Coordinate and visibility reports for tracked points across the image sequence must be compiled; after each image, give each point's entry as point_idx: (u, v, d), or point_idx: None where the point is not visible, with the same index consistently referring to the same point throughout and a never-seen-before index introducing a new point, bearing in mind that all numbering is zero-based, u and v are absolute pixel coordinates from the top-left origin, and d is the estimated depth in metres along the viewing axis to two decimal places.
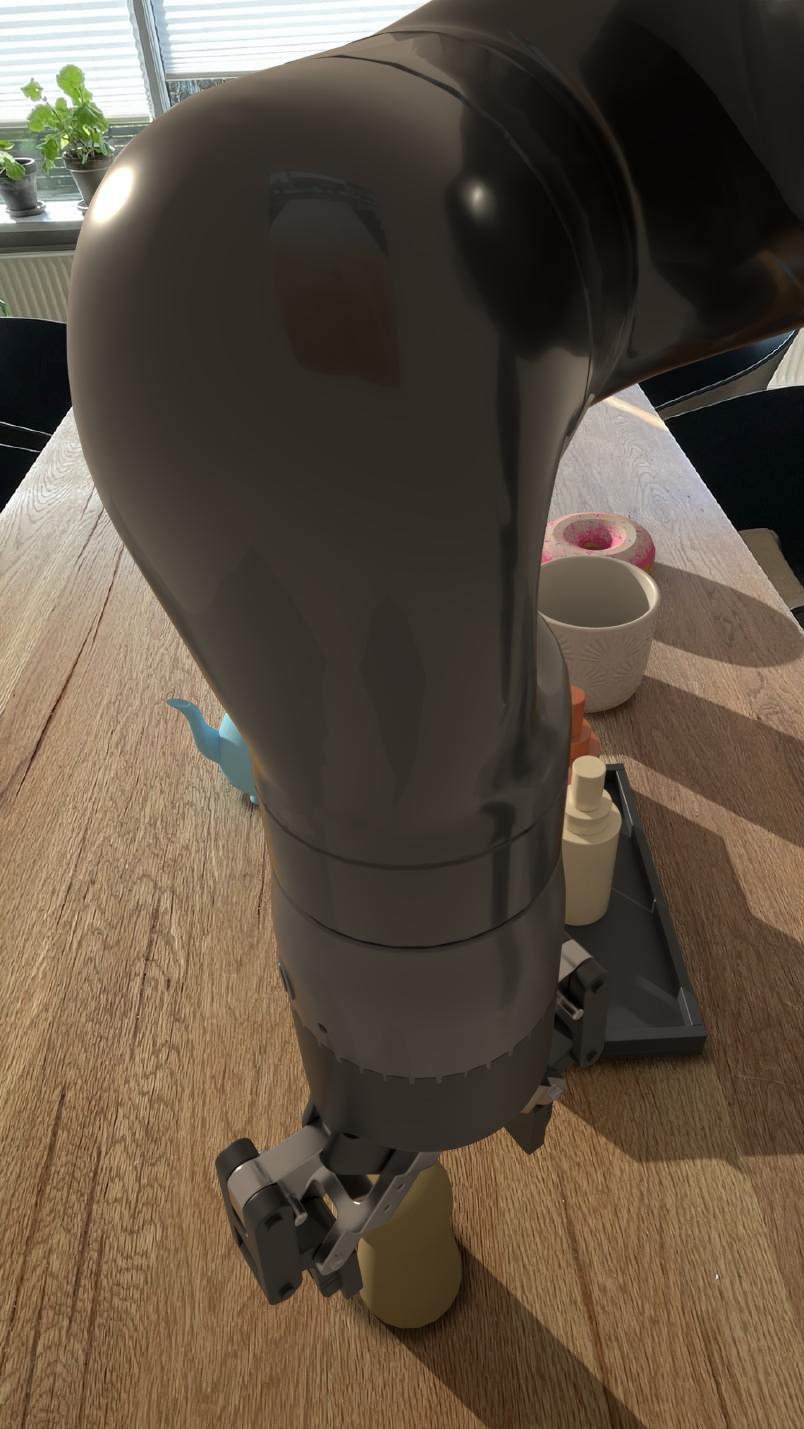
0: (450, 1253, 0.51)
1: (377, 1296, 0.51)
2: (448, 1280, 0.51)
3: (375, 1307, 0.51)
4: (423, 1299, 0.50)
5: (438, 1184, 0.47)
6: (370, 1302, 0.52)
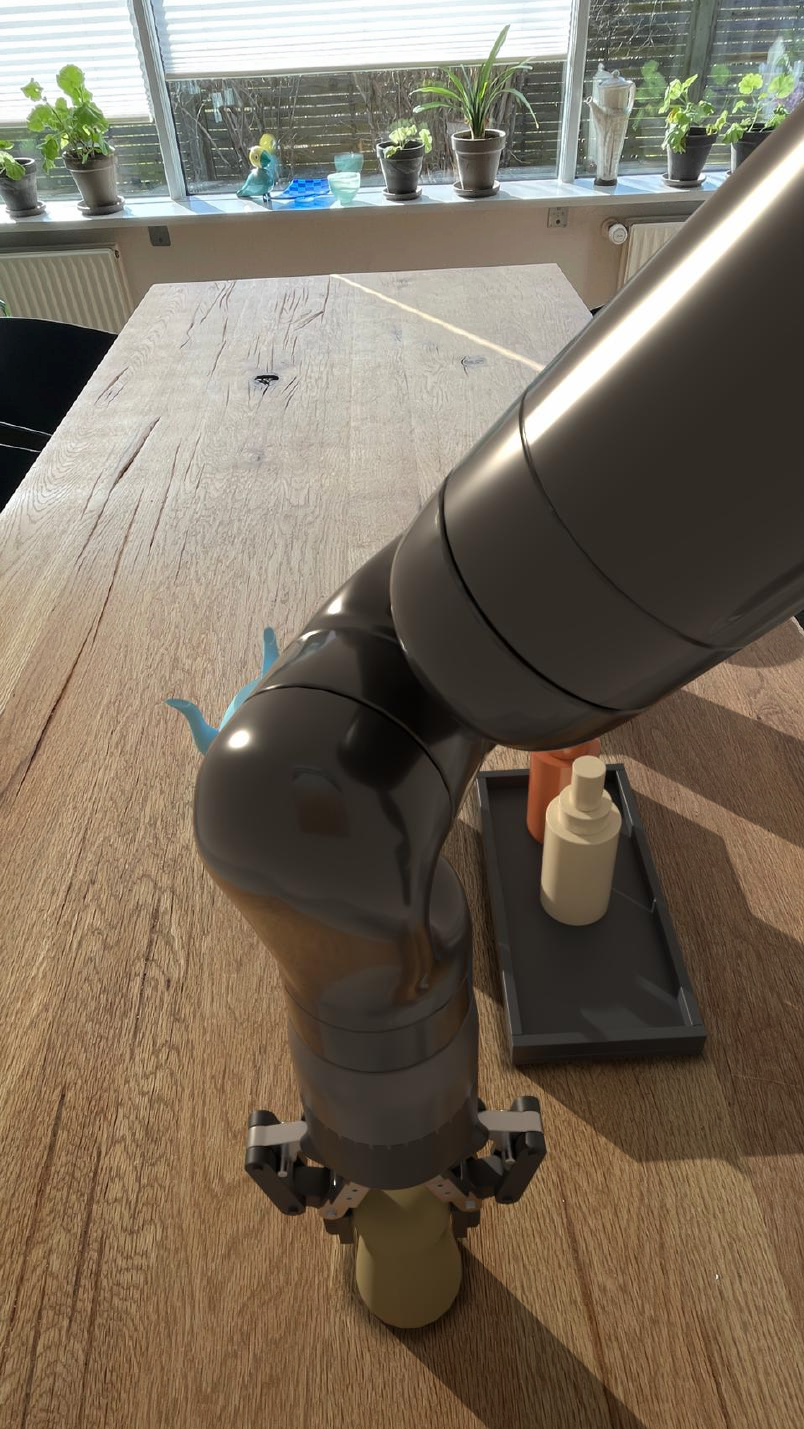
0: (450, 1253, 0.51)
1: (377, 1296, 0.51)
2: (448, 1280, 0.51)
3: (375, 1307, 0.51)
4: (423, 1299, 0.50)
5: None
6: (370, 1302, 0.52)
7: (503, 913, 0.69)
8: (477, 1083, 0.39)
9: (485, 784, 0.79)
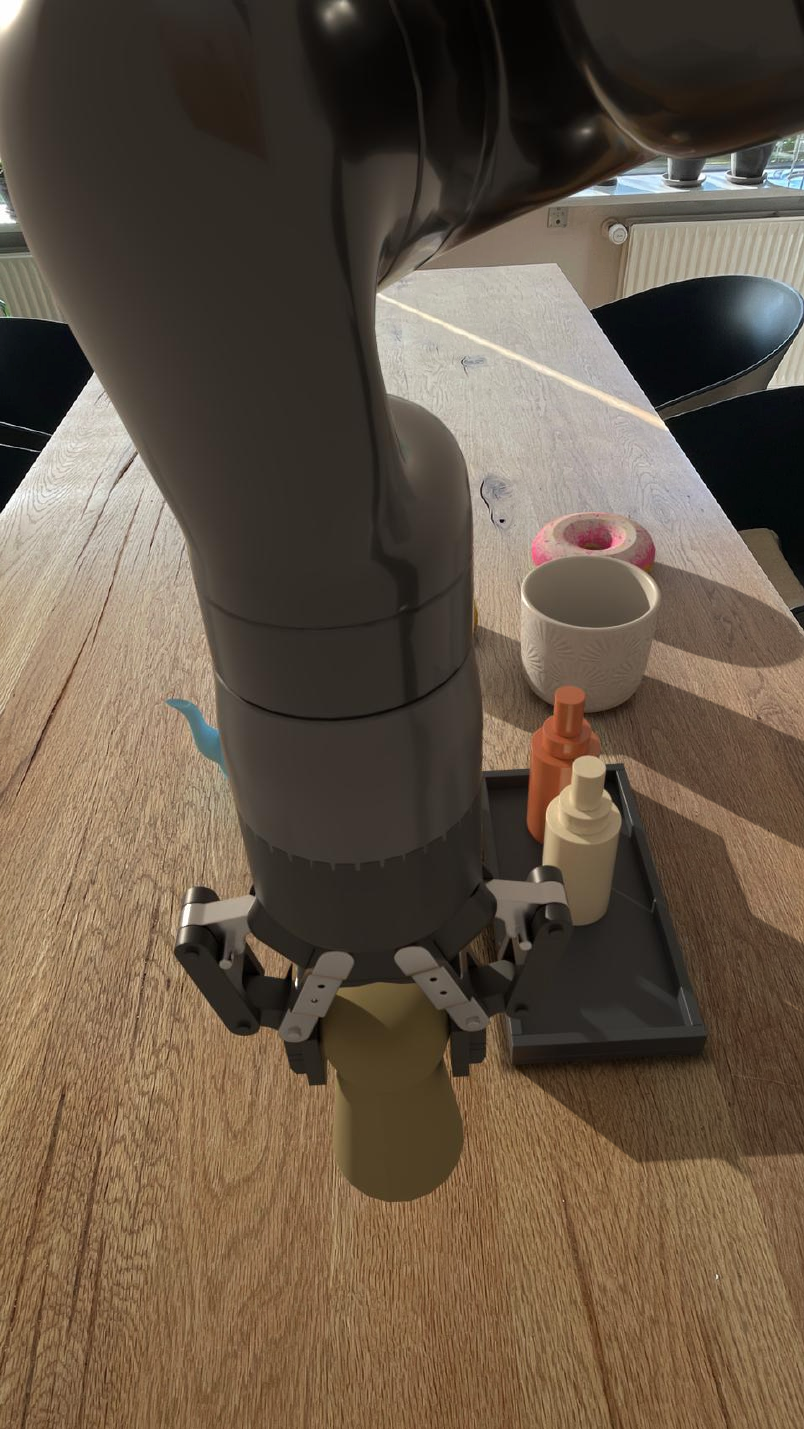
0: (448, 1104, 0.40)
1: (357, 1159, 0.40)
2: (446, 1139, 0.41)
3: (355, 1176, 0.41)
4: (415, 1161, 0.40)
5: None
6: (349, 1170, 0.41)
7: None
8: (481, 808, 0.29)
9: (485, 784, 0.79)
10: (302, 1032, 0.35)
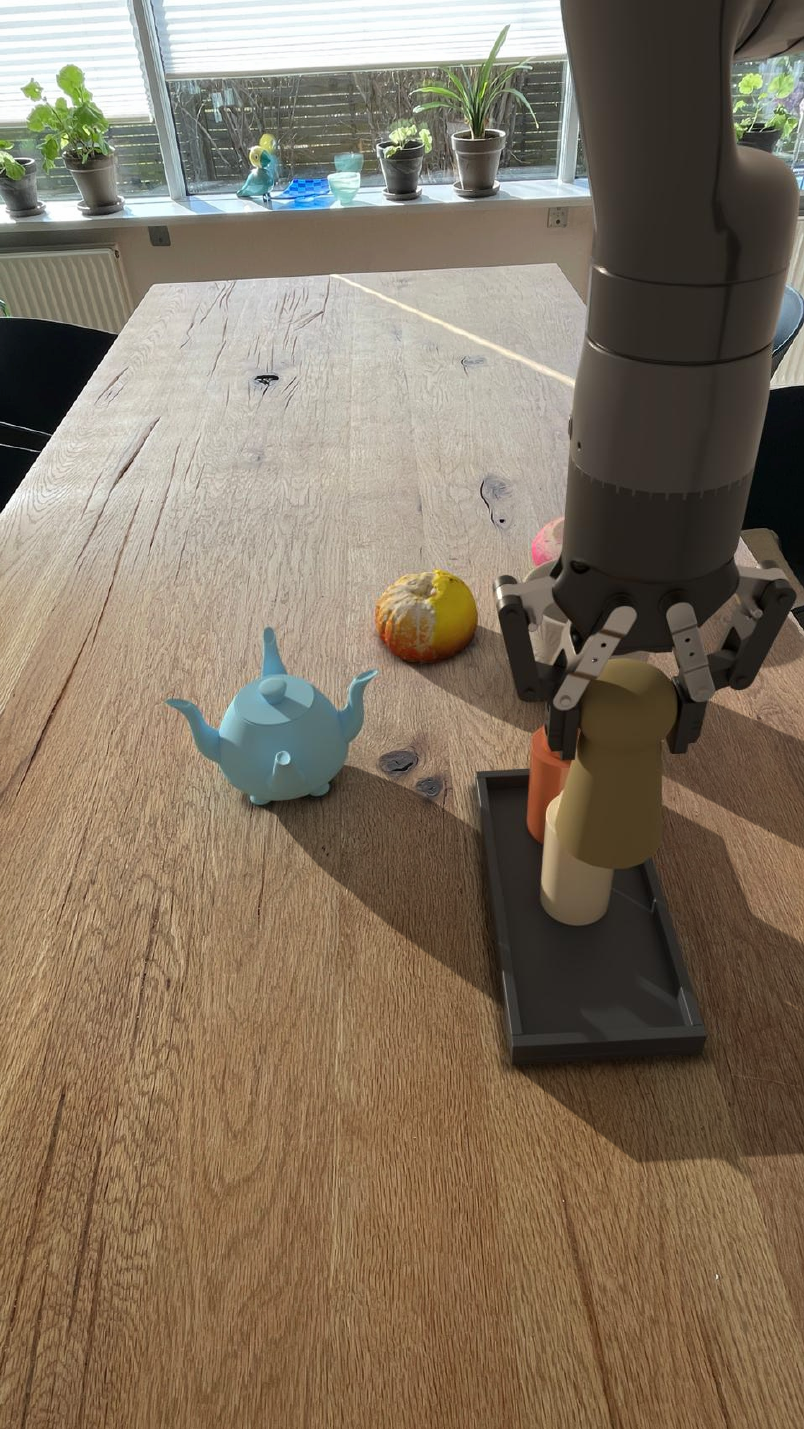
0: (661, 786, 0.51)
1: (588, 829, 0.51)
2: (657, 816, 0.51)
3: (583, 848, 0.52)
4: (637, 828, 0.51)
5: (666, 680, 0.47)
6: (578, 845, 0.52)
7: (503, 913, 0.69)
8: None
9: (485, 784, 0.79)
10: (572, 699, 0.46)
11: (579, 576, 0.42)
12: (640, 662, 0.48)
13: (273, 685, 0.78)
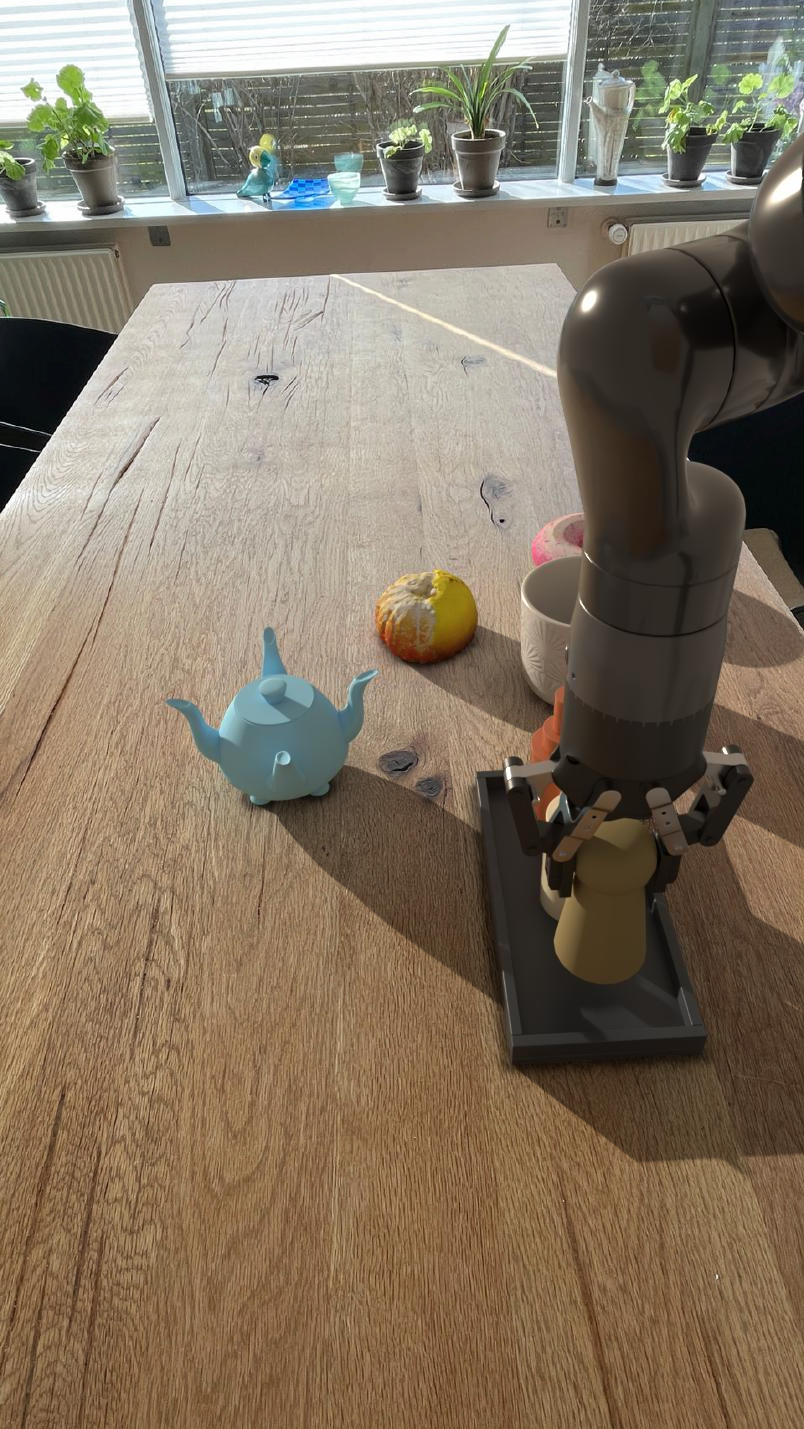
0: (644, 916, 0.60)
1: (582, 952, 0.60)
2: (641, 940, 0.60)
3: (578, 966, 0.61)
4: (623, 952, 0.60)
5: (647, 835, 0.56)
6: (573, 963, 0.61)
7: (503, 913, 0.69)
8: None
9: (485, 784, 0.79)
10: (568, 854, 0.55)
11: (574, 766, 0.51)
12: None
13: (273, 685, 0.78)
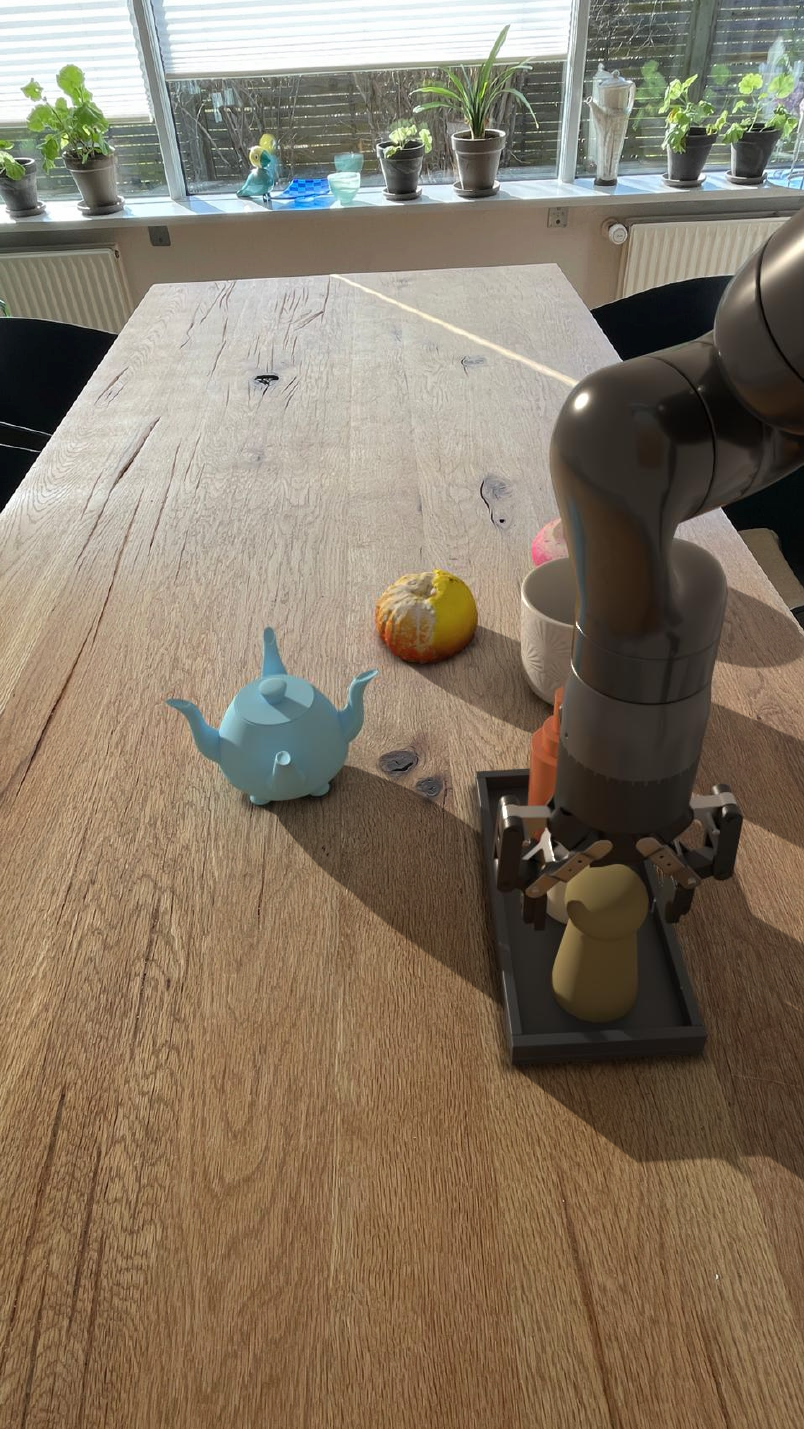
0: (636, 958, 0.63)
1: (577, 992, 0.63)
2: (633, 981, 0.63)
3: (573, 1005, 0.64)
4: (616, 992, 0.62)
5: (638, 884, 0.59)
6: (568, 1002, 0.64)
7: (503, 913, 0.69)
8: None
9: (485, 784, 0.79)
10: (541, 890, 0.57)
11: (567, 817, 0.53)
12: (619, 865, 0.60)
13: (273, 685, 0.78)
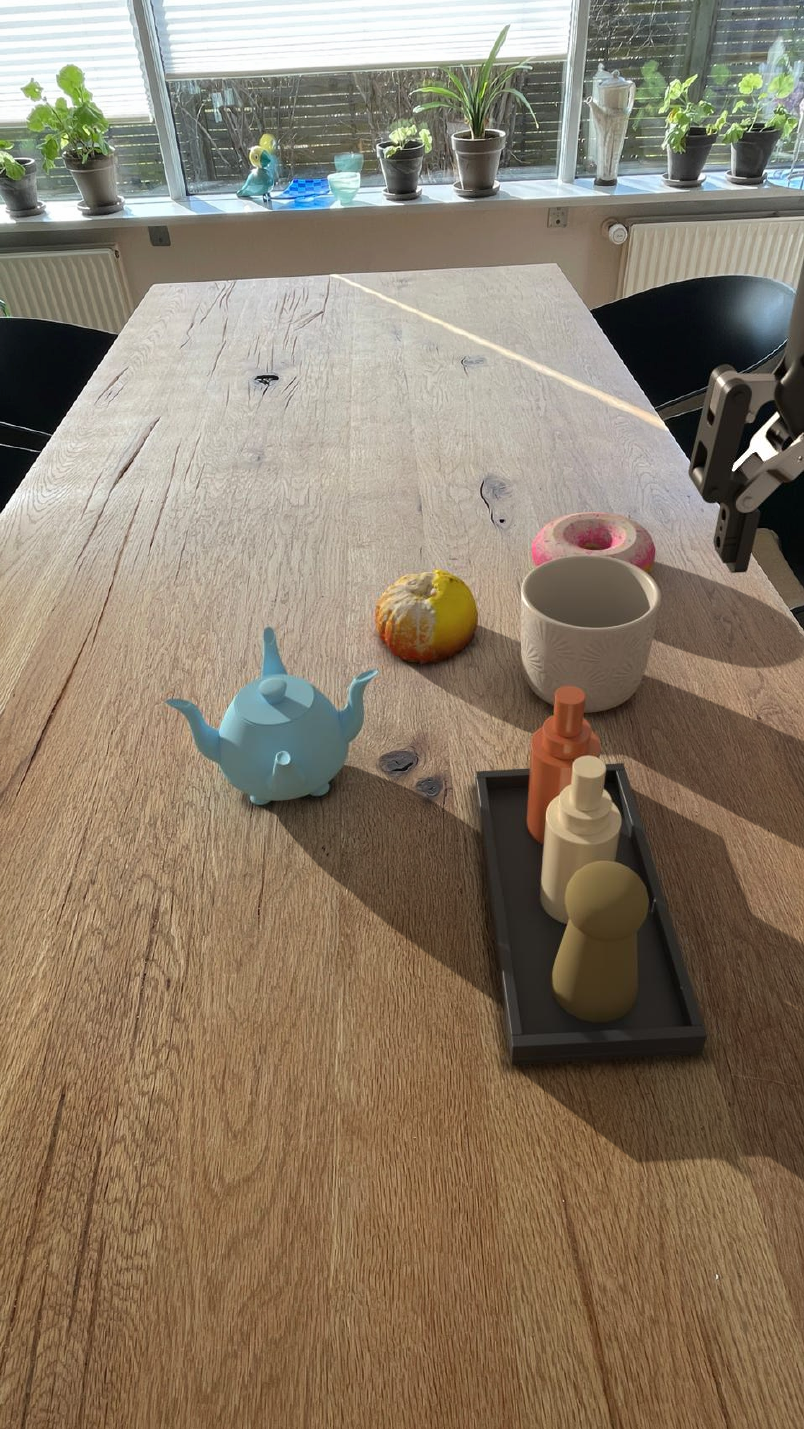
0: (636, 958, 0.63)
1: (577, 992, 0.63)
2: (633, 981, 0.63)
3: (573, 1005, 0.64)
4: (616, 992, 0.62)
5: (639, 884, 0.59)
6: (568, 1002, 0.64)
7: (503, 913, 0.69)
8: None
9: (485, 784, 0.79)
10: (755, 500, 0.47)
11: None
12: (619, 866, 0.60)
13: (273, 685, 0.78)
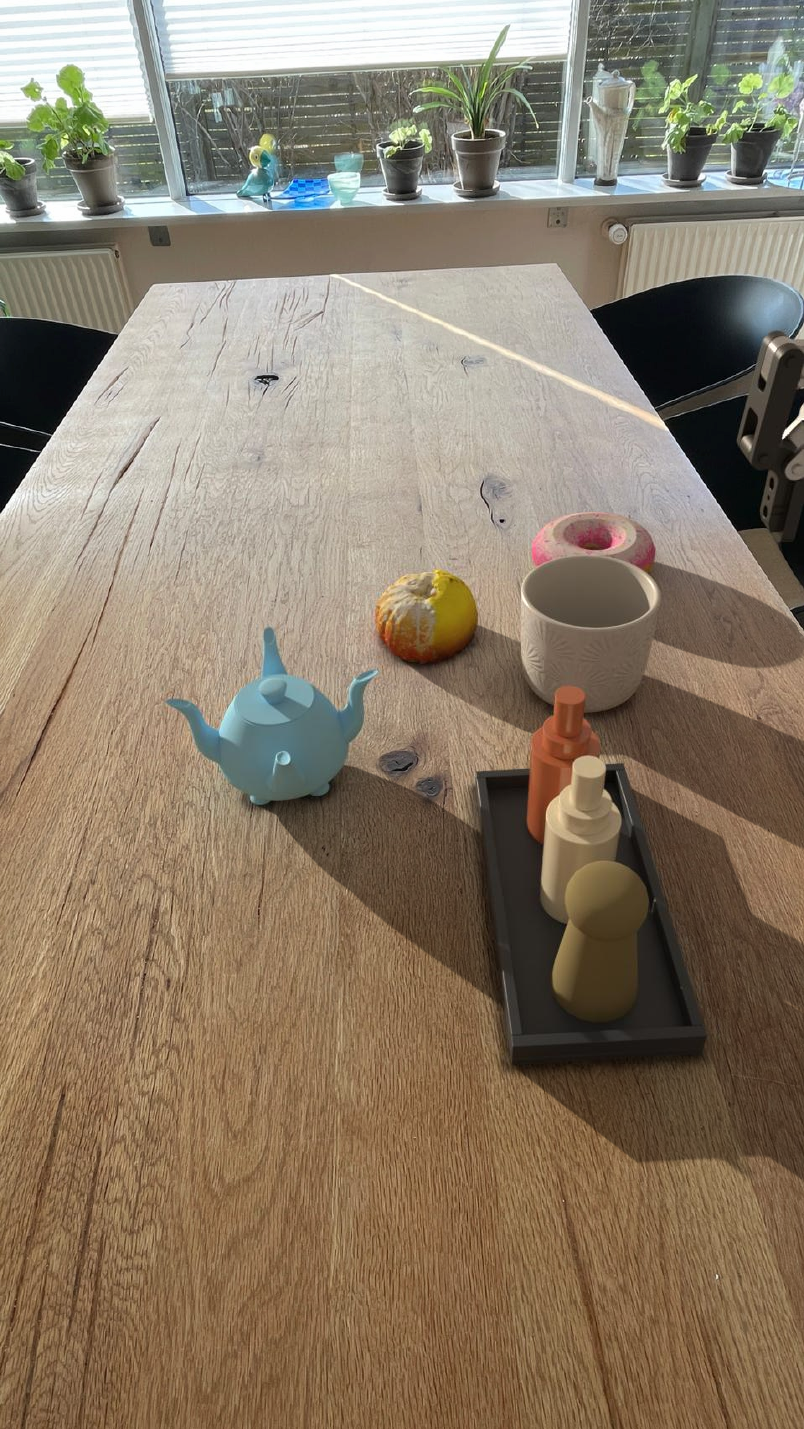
0: (636, 958, 0.63)
1: (577, 992, 0.63)
2: (633, 981, 0.63)
3: (573, 1005, 0.64)
4: (616, 992, 0.62)
5: (639, 884, 0.59)
6: (568, 1002, 0.64)
7: (503, 913, 0.69)
8: None
9: (485, 784, 0.79)
10: None
11: None
12: (619, 866, 0.60)
13: (273, 685, 0.78)
